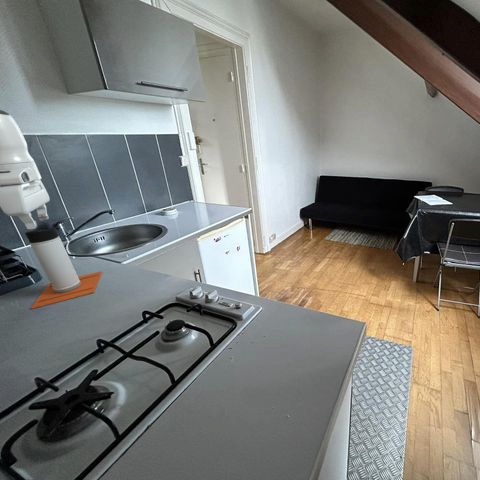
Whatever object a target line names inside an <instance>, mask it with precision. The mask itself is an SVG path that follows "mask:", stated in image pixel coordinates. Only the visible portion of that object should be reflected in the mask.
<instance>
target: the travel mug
mask: <svg viewBox="0 0 480 480" xmlns="http://www.w3.org/2000/svg"><path fill="white" fill-rule="evenodd" d="M24 235H25V236H26V238H27V240H28V242H29V244H30V246H31V248H32V250H33V252H34V254H35V256H36V258H37V260H38V262H39V264H40V266H41V268H42V270H43V272H44V274H45V276H46V278H47V280H48V281H49V284H51V285H52V287H53V289H54V291H55V293H65V292H69V291H71V290H74V289H76V288H78V287H79V286H80V285H81V282H80V280H79V278H78V277H79V275H78V274H77V271H76V269H75V267H74V265H73V263H72V261H71V258H70V256H69V253H68V251H67V250H66V247H65V245H64V243H63V241H62V239H61V237H60V235H59V234H58V230H57V229H56V227H50V228H47V229H46V228H41V229H33V230H29V231H26V232H24Z"/></svg>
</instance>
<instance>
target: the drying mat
mask: <svg viewBox="0 0 480 480" xmlns="http://www.w3.org/2000/svg"><path fill="white" fill-rule="evenodd" d="M102 274H103V270H101V271H96V272H92V273H88V274H84V275H78V278H79V280H80V282H81V285H80V286H79V287H78V288H76V289H74V290H71V291H69V292H65V293H55V291H54V289H53V287H52V285H51V284H50V283H48V285H46V287H45V288H44V289H43V291H42V292H41V293H40V295H39V296H38V297H37V299H36V300H35V302H34V303H33V304H32V306H31V307H30V310H34V309H38V308H42V307H45V306H50V305H54V304H57V303H61V302H64V301H68V300H72V299H76V298H79V297H84V296H86V295H91V294H94V293H95V291H96V290H97V287H98V283H99V282H100V279H101V276H102Z"/></svg>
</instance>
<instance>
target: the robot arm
mask: <svg viewBox="0 0 480 480" xmlns="http://www.w3.org/2000/svg"><path fill="white" fill-rule="evenodd" d="M42 179H43V178H42V175H41V173H40V171H39V168H38V166H37V163H36V162H35V160H34V158H33V157H32V156H31V154H30V152H29V150H28V142H27V140H26V139H25V137H24V134H23V131H22V130H21V129H20V127H19V125H18V123H17V122H16V120H15V119H14V117H13V116H12V115H11V114H10V113H8V112H7V111H4V110H3V109H2V110H1V109H0V209H1V211H2V212H3V213H4V214H5V215H6V216H8V217H17V218H18V219H19V220H20V221H21V222H22V223H23V224H24V226H25V227H26V229H27V230H36V229H37V228H38V227H39V225H38V224H37V220H34V219H33V217H32V216H33V214H32V213H31V212H33V211H35V210H36V213H37V214H36V216H37V218H38V220H39V221H40V222H43V221H47V220H49V219H50V218H49V214H48V211H47V209H48V208H47V205H46V204H47V203H49V202H50V201H51V198H50V195H49V193H48V191H47V188H46V187H45V185H44V183H43V182H42Z"/></svg>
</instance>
